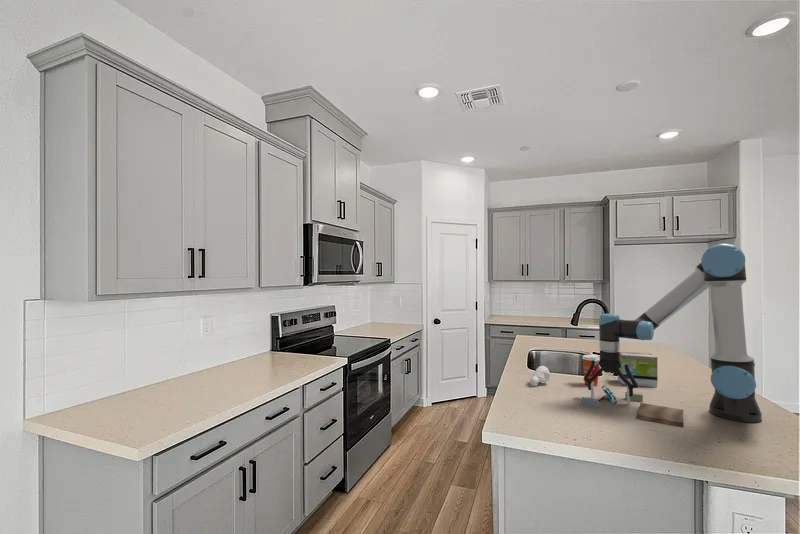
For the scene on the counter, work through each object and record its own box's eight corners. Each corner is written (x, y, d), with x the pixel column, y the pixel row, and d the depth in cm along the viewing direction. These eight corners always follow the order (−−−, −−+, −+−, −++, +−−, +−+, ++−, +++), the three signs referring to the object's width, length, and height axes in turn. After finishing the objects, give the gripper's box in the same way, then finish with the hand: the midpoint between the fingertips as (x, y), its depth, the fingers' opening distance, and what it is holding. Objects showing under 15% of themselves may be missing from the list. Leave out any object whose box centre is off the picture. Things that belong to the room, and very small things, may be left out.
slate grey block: (598, 406, 159) (598, 399, 159) (597, 408, 156) (597, 401, 156) (582, 404, 162) (582, 396, 162) (581, 406, 160) (581, 398, 160)
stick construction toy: (620, 401, 158) (607, 383, 162) (605, 410, 159) (592, 392, 163) (616, 400, 169) (604, 384, 173) (602, 409, 170) (590, 392, 173)
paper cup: (578, 383, 191) (578, 355, 191) (589, 382, 194) (589, 353, 194) (592, 388, 184) (592, 358, 184) (603, 386, 187) (603, 356, 187)
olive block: (641, 400, 167) (641, 393, 167) (642, 402, 164) (642, 395, 164) (625, 398, 169) (625, 391, 169) (626, 400, 166) (626, 393, 166)
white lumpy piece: (550, 366, 191) (536, 372, 184) (552, 383, 191) (537, 390, 184) (539, 363, 196) (525, 369, 189) (540, 380, 196) (526, 387, 189)
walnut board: (683, 413, 150) (683, 409, 150) (683, 427, 137) (683, 422, 137) (640, 406, 158) (640, 402, 158) (637, 418, 145) (637, 414, 145)
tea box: (622, 385, 188) (622, 354, 188) (617, 380, 198) (617, 350, 198) (658, 388, 184) (657, 356, 184) (651, 382, 193) (650, 352, 194)
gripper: (644, 352, 161) (645, 403, 160) (579, 346, 175) (580, 393, 175) (643, 355, 155) (644, 409, 154) (576, 348, 169) (576, 397, 169)
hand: (610, 400), depth 165 cm, fingers open, 13 cm apart
